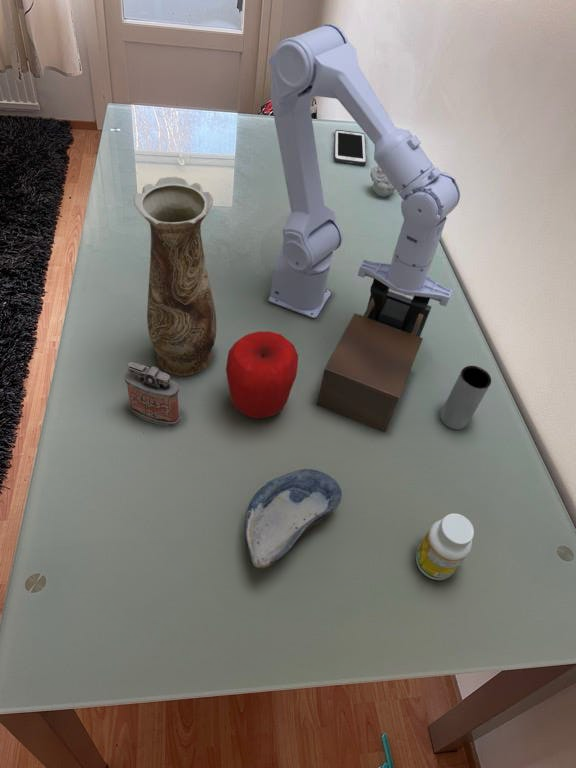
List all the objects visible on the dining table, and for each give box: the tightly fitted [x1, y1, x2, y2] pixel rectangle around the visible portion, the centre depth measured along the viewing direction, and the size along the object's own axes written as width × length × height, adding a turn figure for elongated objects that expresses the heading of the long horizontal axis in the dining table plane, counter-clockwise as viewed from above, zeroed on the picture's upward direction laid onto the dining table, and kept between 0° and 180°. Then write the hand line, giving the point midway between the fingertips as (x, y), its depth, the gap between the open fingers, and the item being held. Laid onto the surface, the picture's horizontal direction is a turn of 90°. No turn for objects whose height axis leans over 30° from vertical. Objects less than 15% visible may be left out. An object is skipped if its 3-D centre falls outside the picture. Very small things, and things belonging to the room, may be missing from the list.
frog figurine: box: [369, 164, 396, 198], centre depth 132 cm, size 6×7×7 cm
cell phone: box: [333, 129, 367, 166], centre depth 146 cm, size 8×15×1 cm, turn 177°
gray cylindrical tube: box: [439, 365, 492, 430], centre depth 90 cm, size 4×4×10 cm
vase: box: [133, 176, 217, 377], centre depth 85 cm, size 10×11×30 cm
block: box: [378, 298, 410, 330], centre depth 97 cm, size 4×4×4 cm
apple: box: [225, 331, 299, 419], centre depth 87 cm, size 10×10×14 cm
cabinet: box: [316, 312, 423, 433], centre depth 93 cm, size 14×12×9 cm
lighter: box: [124, 361, 181, 427], centre depth 85 cm, size 8×3×10 cm, turn 71°
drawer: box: [362, 288, 432, 337], centre depth 100 cm, size 17×10×7 cm, turn 157°
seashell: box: [245, 468, 343, 569], centre depth 77 cm, size 15×12×5 cm
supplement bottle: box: [415, 513, 475, 581], centre depth 74 cm, size 5×5×10 cm
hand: (391, 321), depth 98 cm, fingers closed on block, 4 cm apart
